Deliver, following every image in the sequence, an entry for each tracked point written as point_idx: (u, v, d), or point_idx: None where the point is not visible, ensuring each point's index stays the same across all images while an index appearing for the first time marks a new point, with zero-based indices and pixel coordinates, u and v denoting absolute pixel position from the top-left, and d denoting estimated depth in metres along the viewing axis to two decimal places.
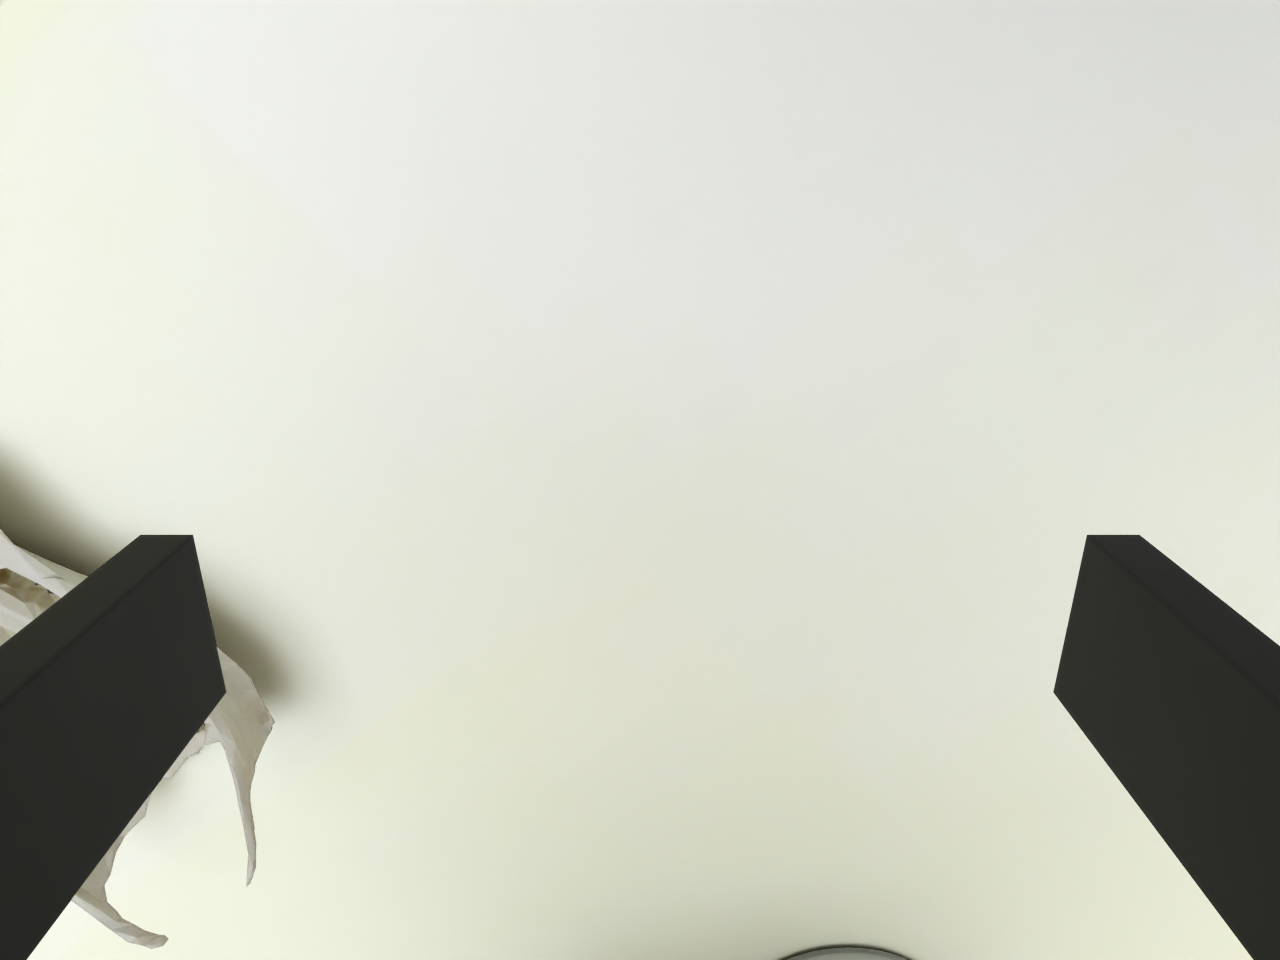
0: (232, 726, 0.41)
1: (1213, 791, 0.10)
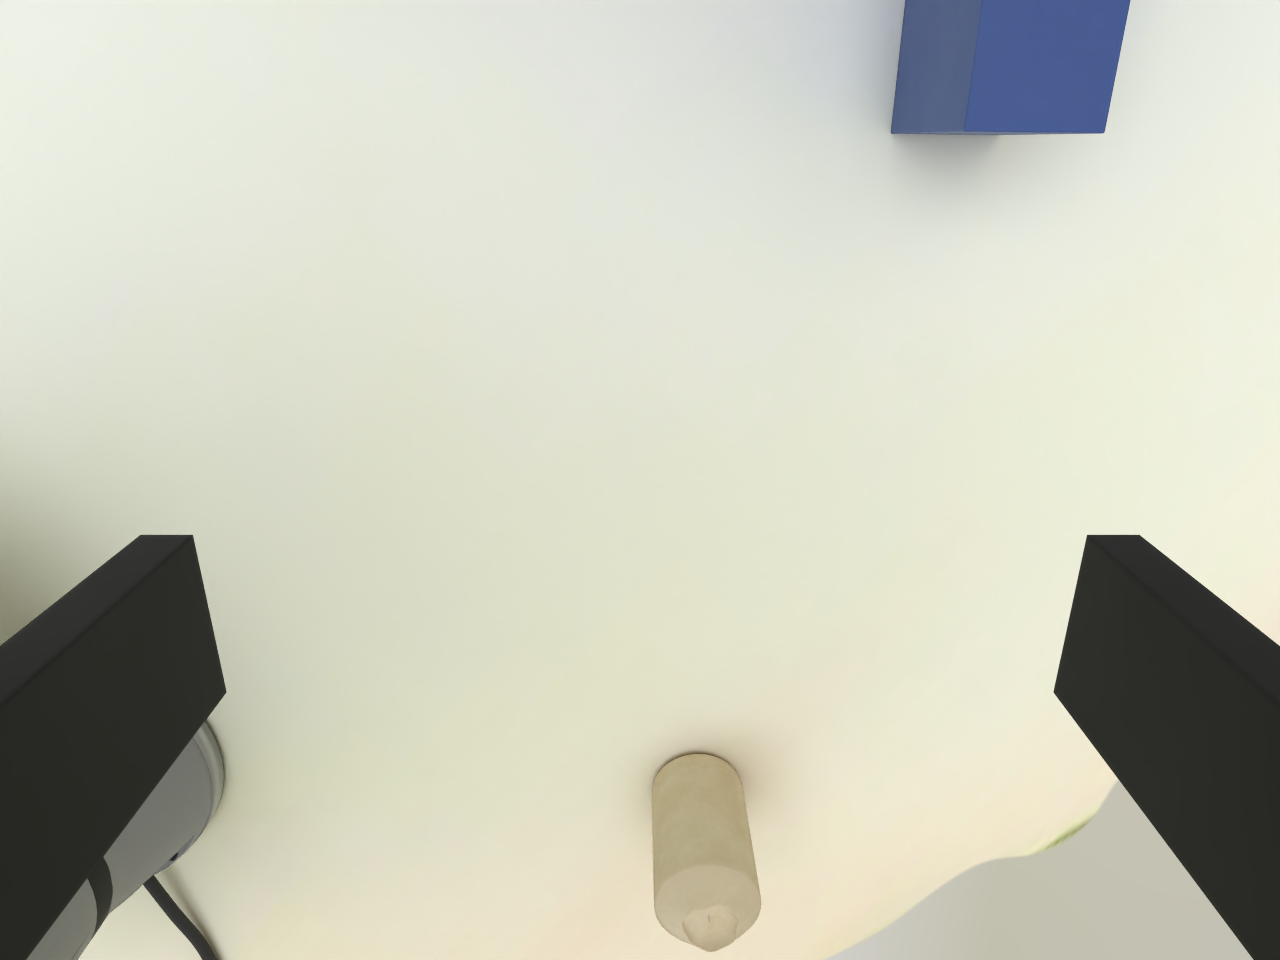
0: None
1: (1213, 791, 0.10)
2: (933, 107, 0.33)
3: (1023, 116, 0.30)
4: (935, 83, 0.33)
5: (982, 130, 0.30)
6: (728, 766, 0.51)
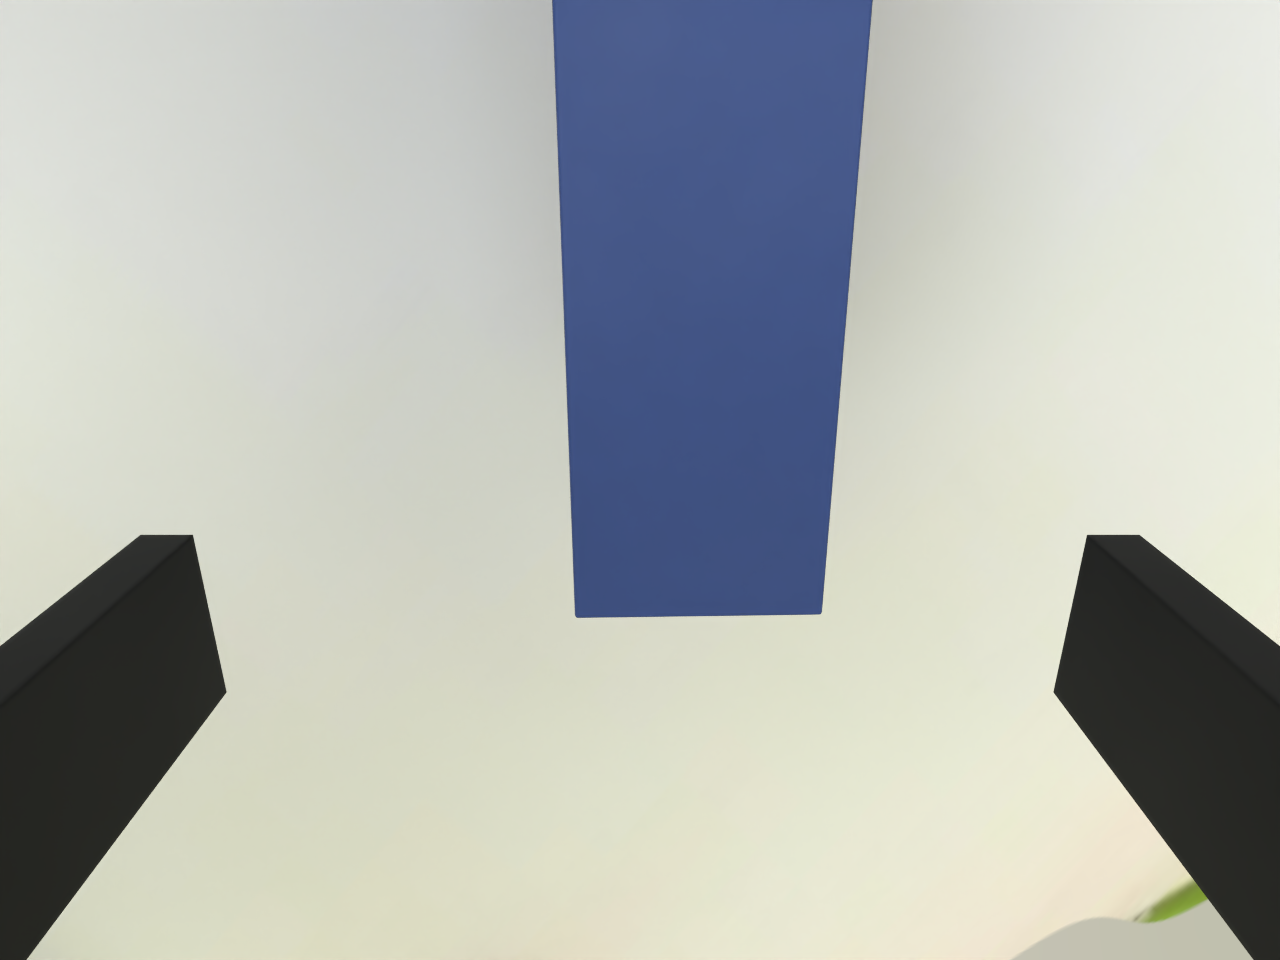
0: None
1: (1213, 791, 0.10)
2: None
3: (675, 595, 0.17)
4: None
5: (606, 616, 0.17)
6: None
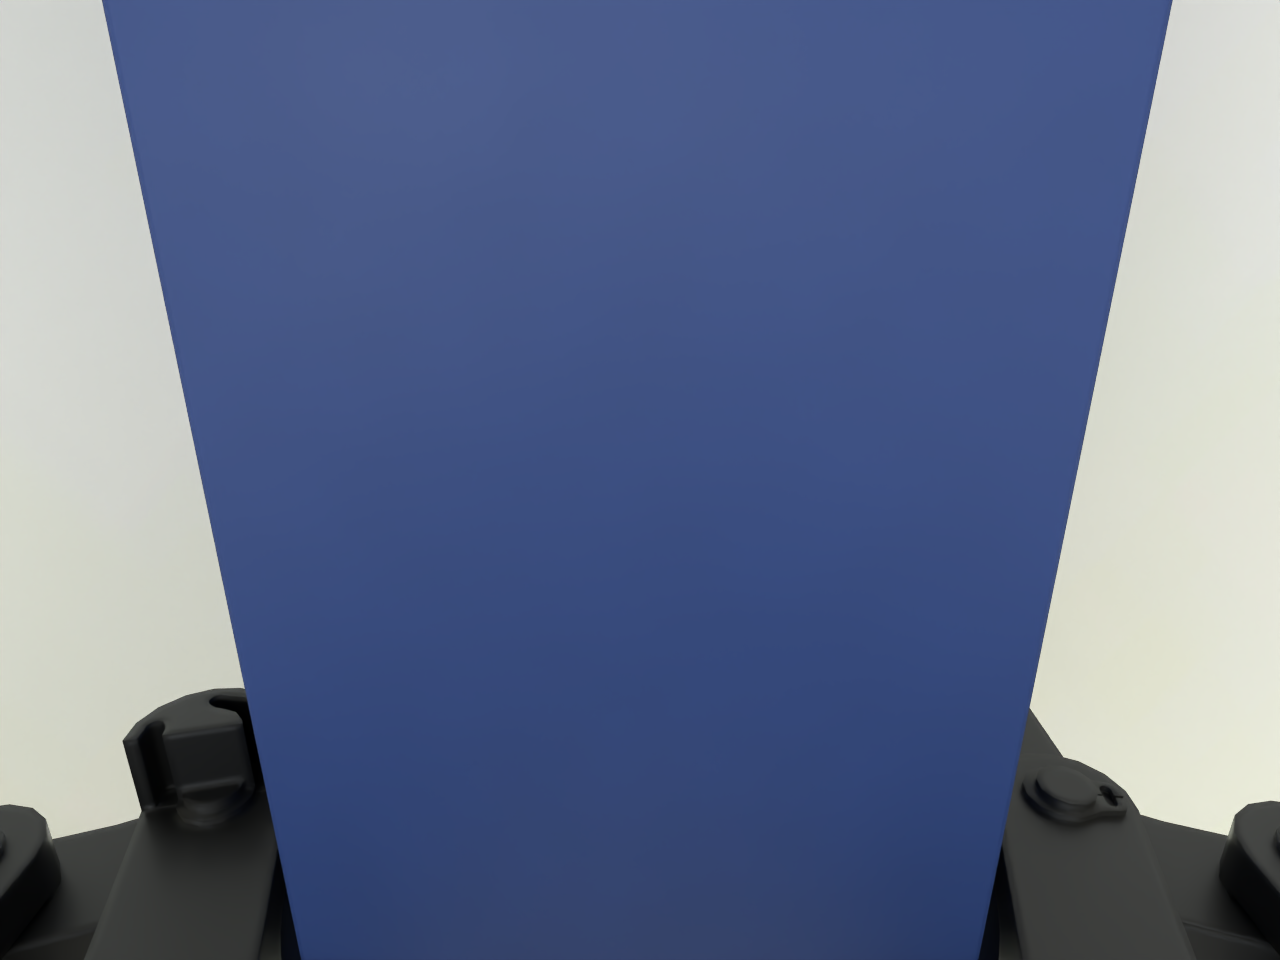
0: None
1: None
2: None
3: None
4: None
5: None
6: None
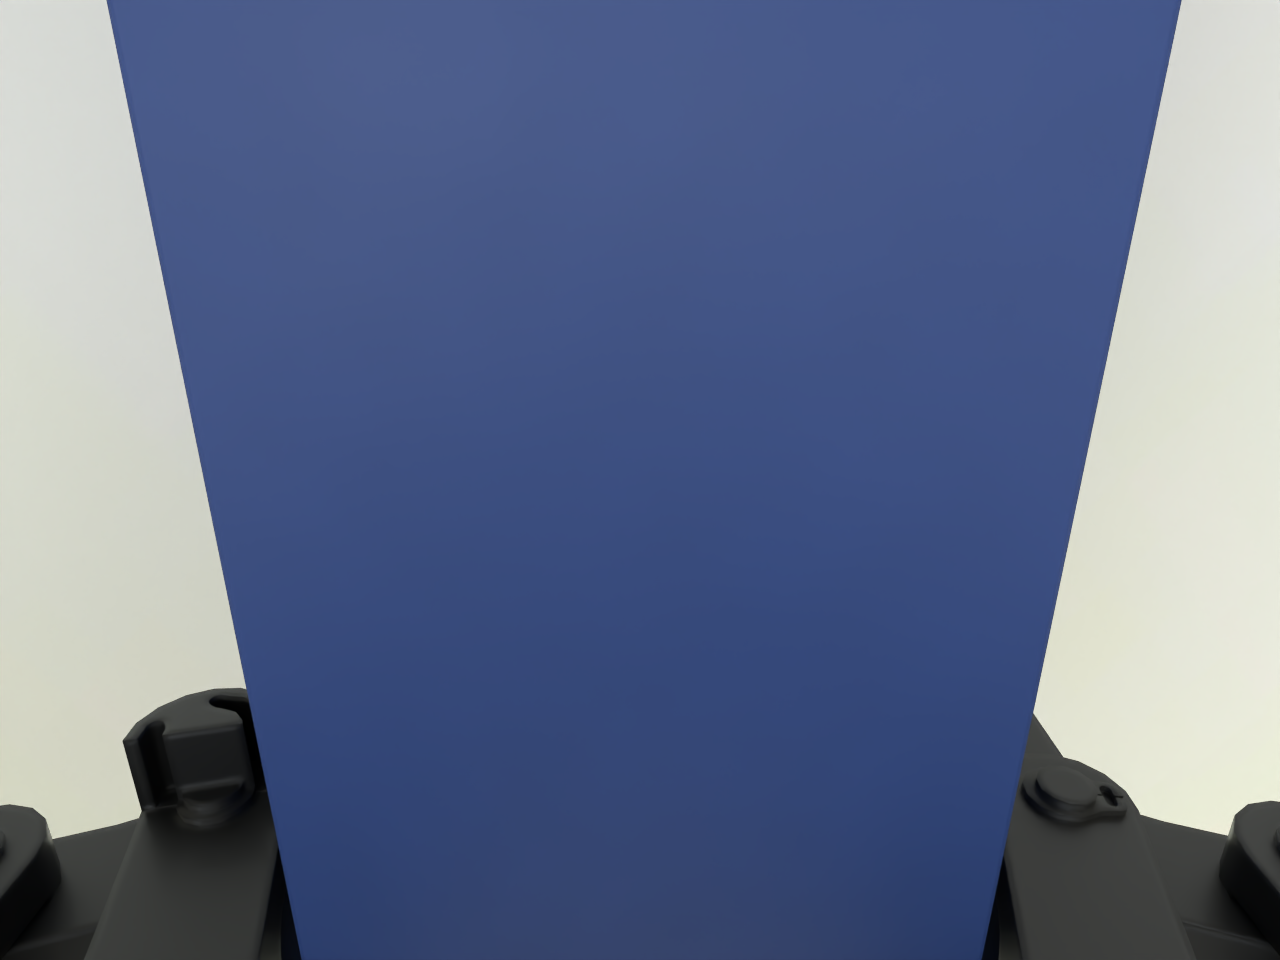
0: None
1: None
2: None
3: None
4: None
5: None
6: None
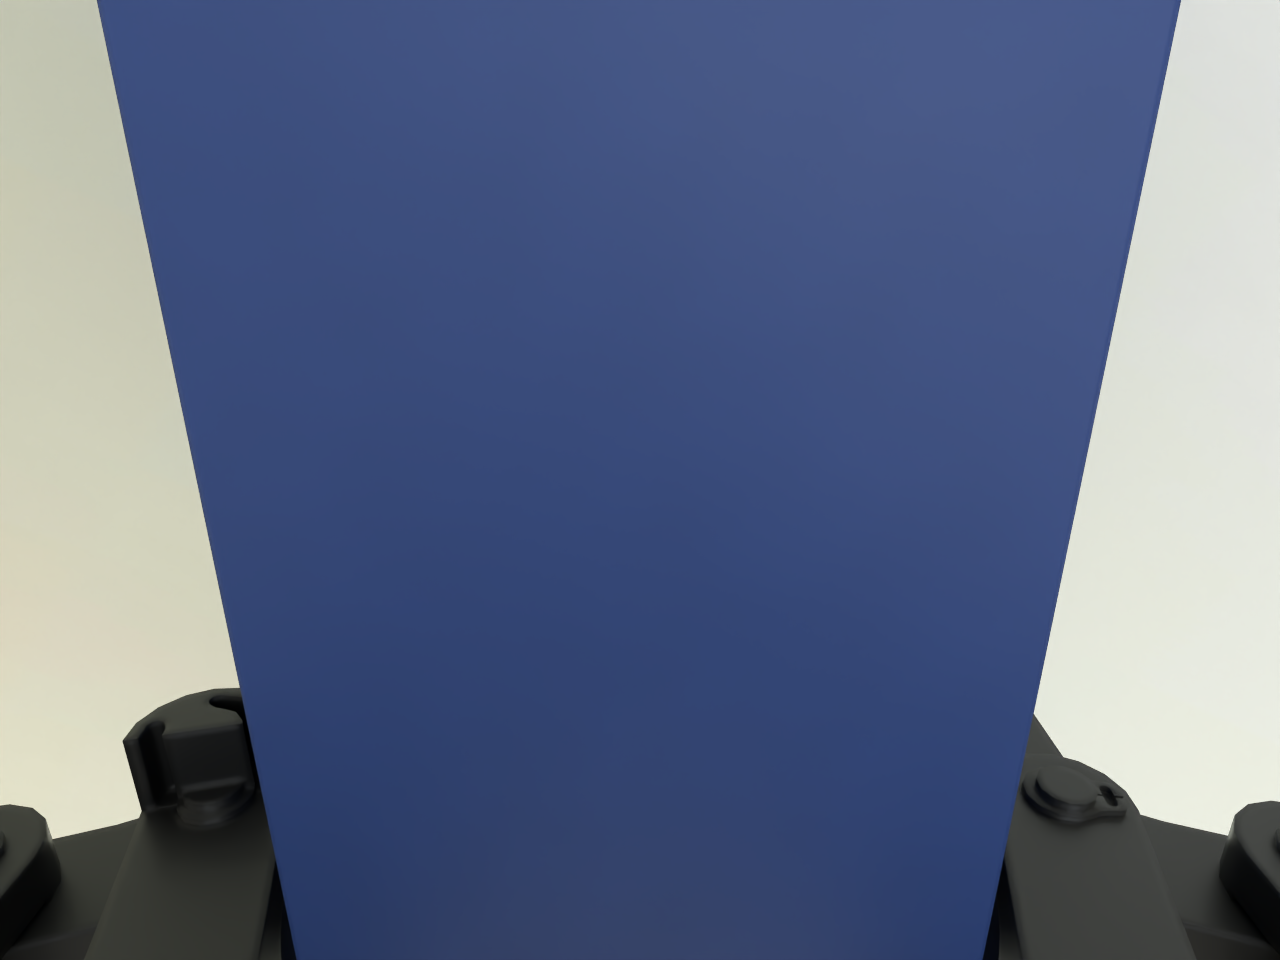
0: None
1: None
2: None
3: None
4: None
5: None
6: None
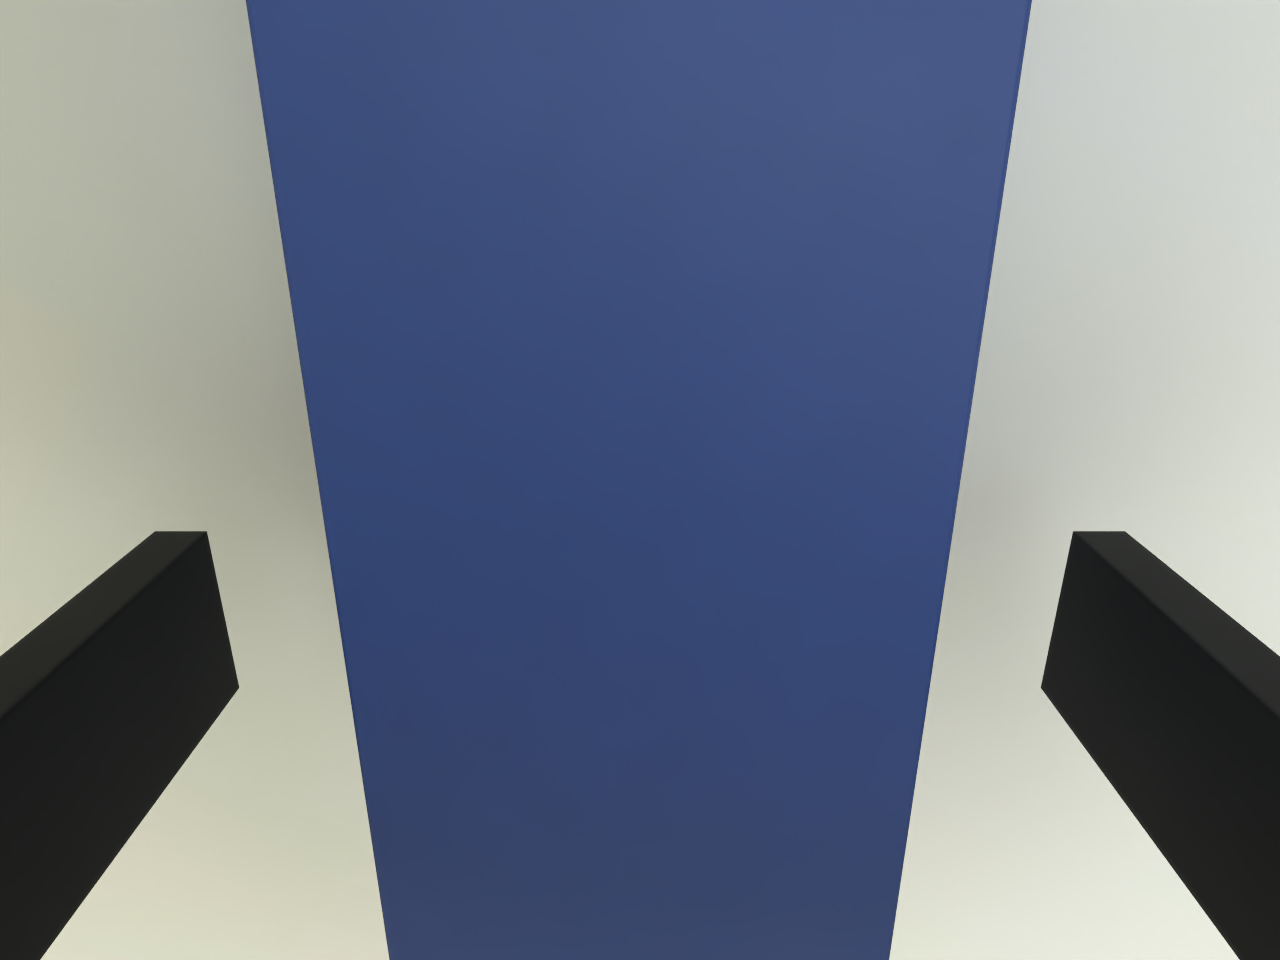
0: None
1: (1193, 784, 0.10)
2: None
3: None
4: None
5: None
6: None
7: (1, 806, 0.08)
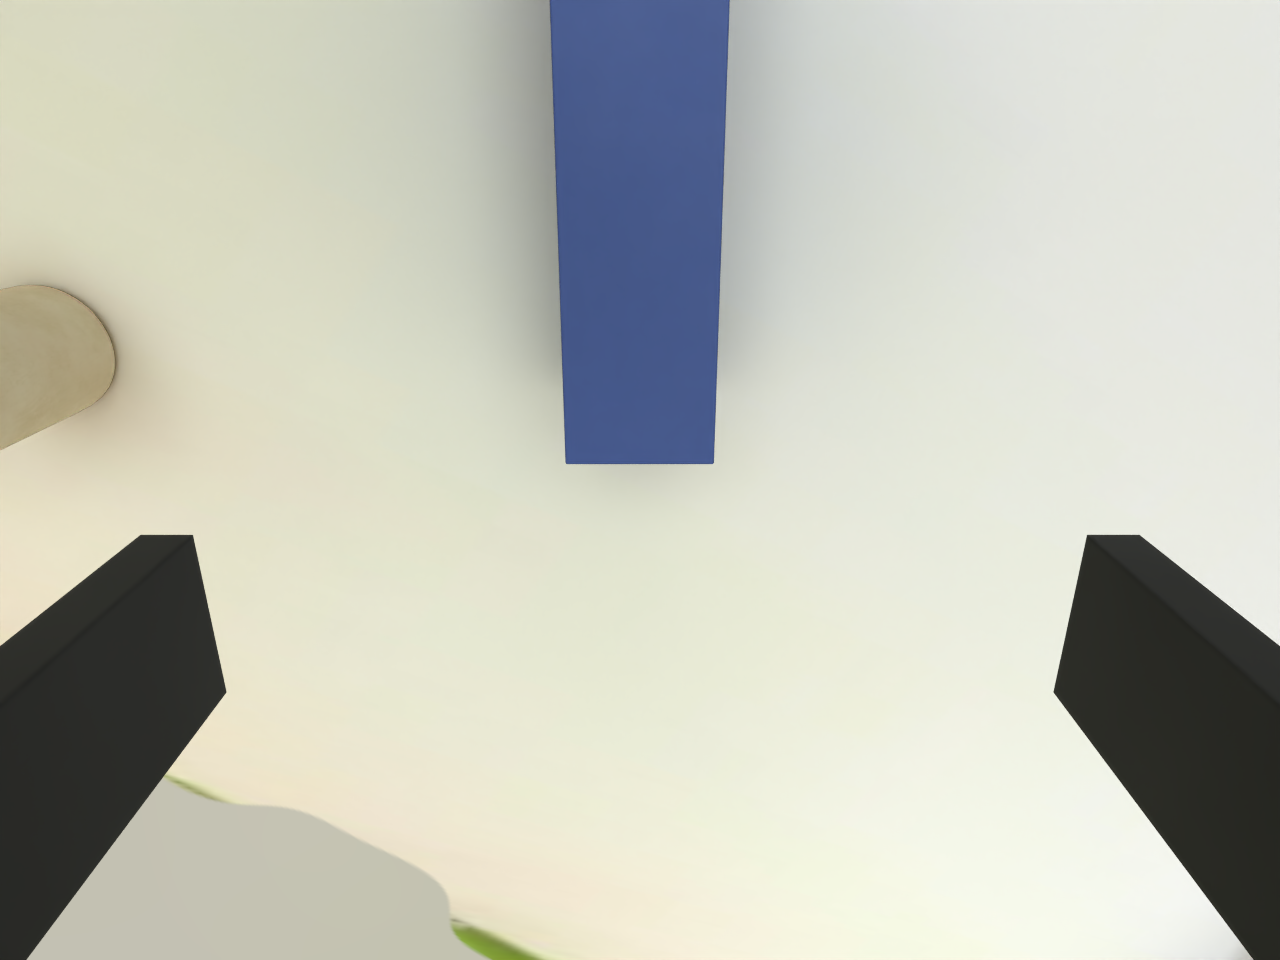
0: None
1: (1213, 791, 0.10)
2: None
3: (625, 450, 0.28)
4: None
5: (584, 463, 0.28)
6: (108, 381, 0.36)
7: None
